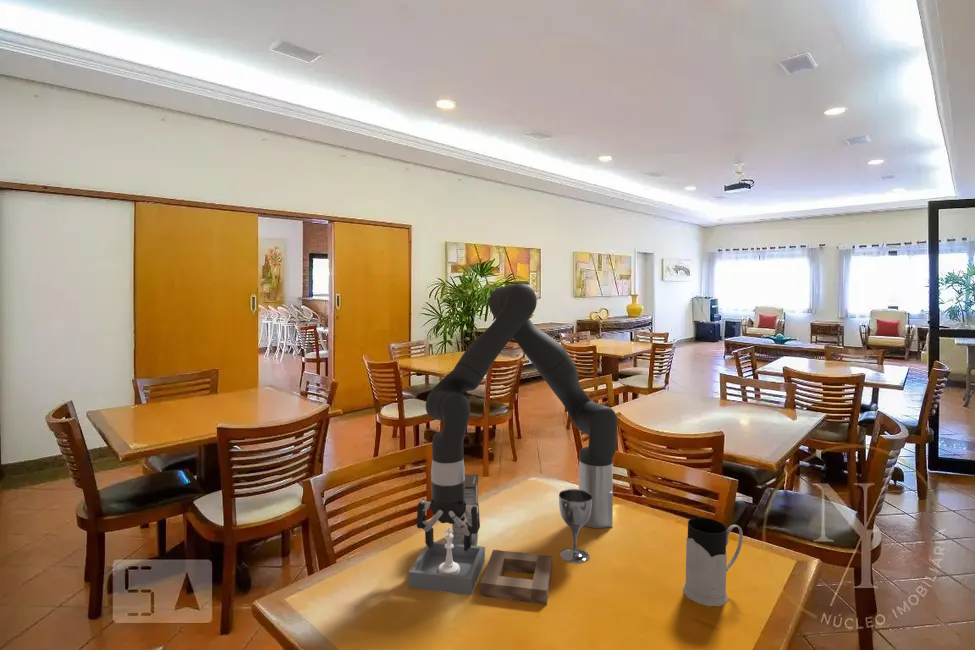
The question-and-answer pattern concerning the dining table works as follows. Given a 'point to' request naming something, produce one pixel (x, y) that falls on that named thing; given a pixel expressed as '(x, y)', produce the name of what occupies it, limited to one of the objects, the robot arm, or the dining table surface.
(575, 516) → the wine glass
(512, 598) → the socket block
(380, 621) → the dining table surface
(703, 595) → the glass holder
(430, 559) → the tray
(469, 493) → the coffee box
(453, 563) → the chess piece
